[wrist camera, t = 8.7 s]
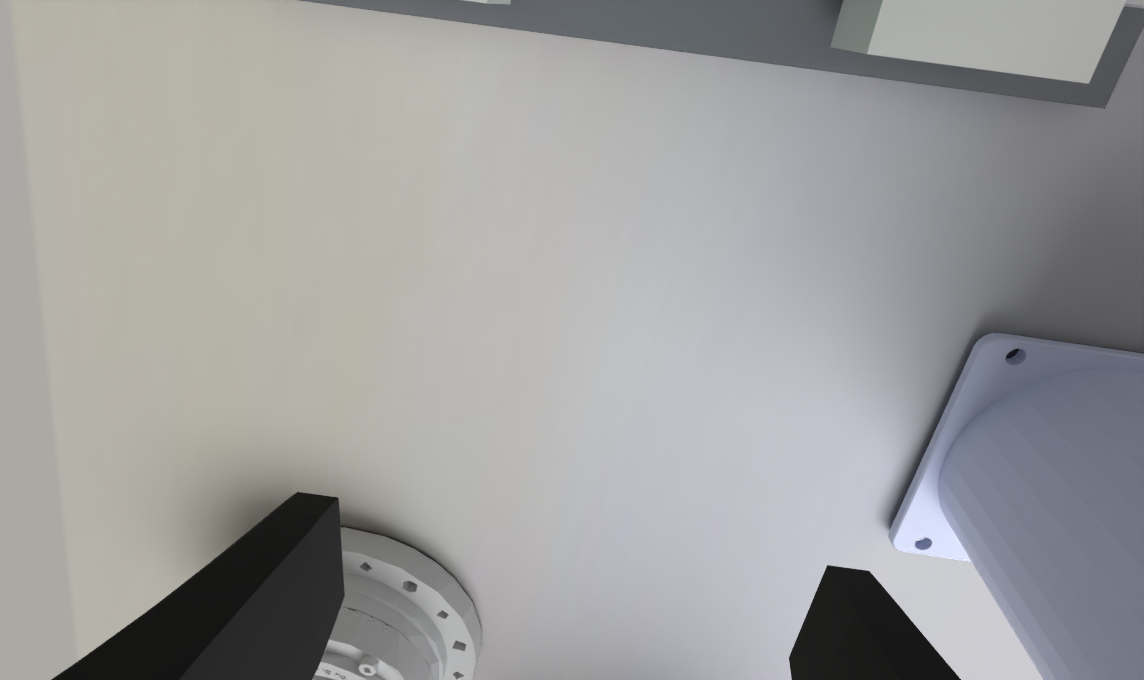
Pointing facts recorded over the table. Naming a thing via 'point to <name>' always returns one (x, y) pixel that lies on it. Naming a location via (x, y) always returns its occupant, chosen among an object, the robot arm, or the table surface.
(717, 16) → the rail board
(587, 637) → the table surface
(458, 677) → the mechanical component
